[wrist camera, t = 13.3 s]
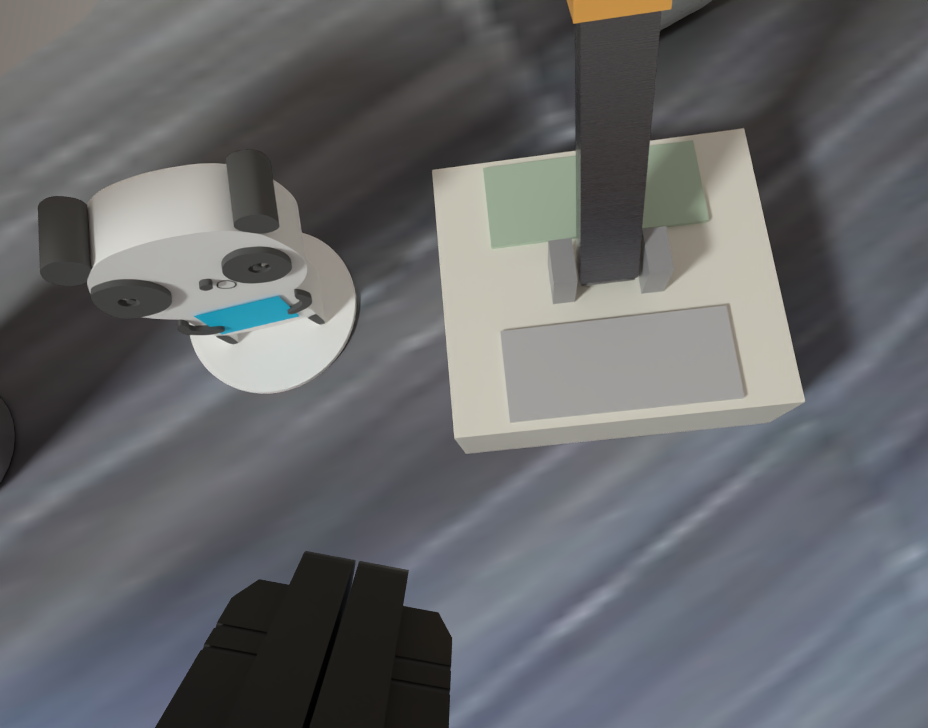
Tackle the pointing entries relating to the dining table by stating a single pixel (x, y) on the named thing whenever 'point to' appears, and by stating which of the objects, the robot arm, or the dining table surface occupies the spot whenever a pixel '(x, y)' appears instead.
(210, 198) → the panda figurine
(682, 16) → the ceramic mug
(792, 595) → the dining table surface
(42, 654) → the dining table surface
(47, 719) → the dining table surface
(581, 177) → the lever
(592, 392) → the switch box
